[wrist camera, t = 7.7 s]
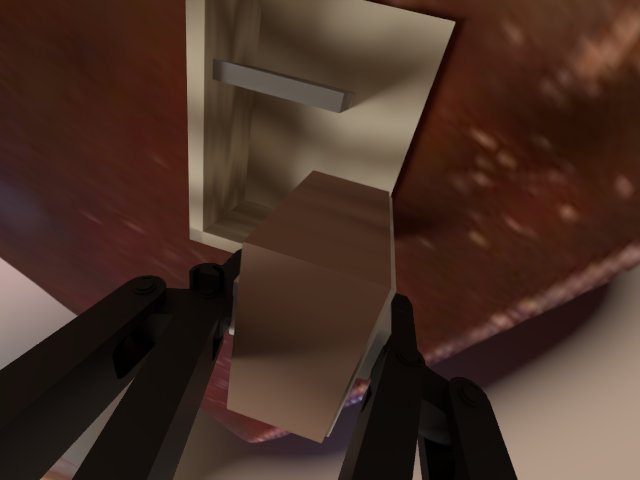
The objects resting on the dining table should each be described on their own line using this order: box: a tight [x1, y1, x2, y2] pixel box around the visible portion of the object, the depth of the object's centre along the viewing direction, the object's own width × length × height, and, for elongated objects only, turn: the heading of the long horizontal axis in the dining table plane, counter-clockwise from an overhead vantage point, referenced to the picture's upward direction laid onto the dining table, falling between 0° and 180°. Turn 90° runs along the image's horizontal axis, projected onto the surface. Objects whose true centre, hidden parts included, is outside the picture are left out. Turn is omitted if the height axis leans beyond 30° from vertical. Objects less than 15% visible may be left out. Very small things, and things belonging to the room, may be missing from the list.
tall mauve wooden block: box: [227, 170, 396, 443], centre depth 13 cm, size 8×4×8 cm, turn 167°
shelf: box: [186, 0, 455, 253], centre depth 23 cm, size 20×16×9 cm
